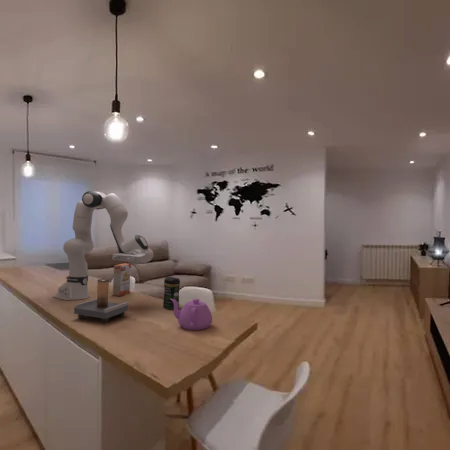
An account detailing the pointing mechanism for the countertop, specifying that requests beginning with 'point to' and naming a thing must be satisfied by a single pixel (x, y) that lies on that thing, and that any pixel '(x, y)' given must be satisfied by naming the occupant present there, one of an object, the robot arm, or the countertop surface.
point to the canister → (102, 293)
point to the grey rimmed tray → (100, 310)
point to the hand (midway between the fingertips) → (120, 259)
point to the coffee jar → (171, 292)
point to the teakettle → (193, 315)
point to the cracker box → (121, 279)
